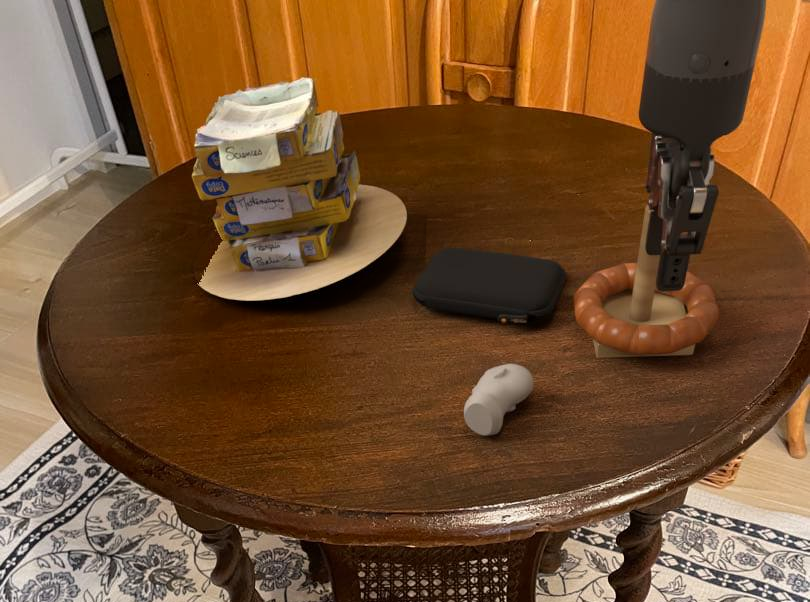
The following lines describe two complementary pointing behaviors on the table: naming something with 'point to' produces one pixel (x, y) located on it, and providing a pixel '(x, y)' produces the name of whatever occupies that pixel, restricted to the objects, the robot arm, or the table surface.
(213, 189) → the stack of yellow boxes
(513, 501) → the table surface
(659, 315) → the post
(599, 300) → the ring
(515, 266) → the carrying case
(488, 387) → the smooth white sculpture
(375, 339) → the table surface
